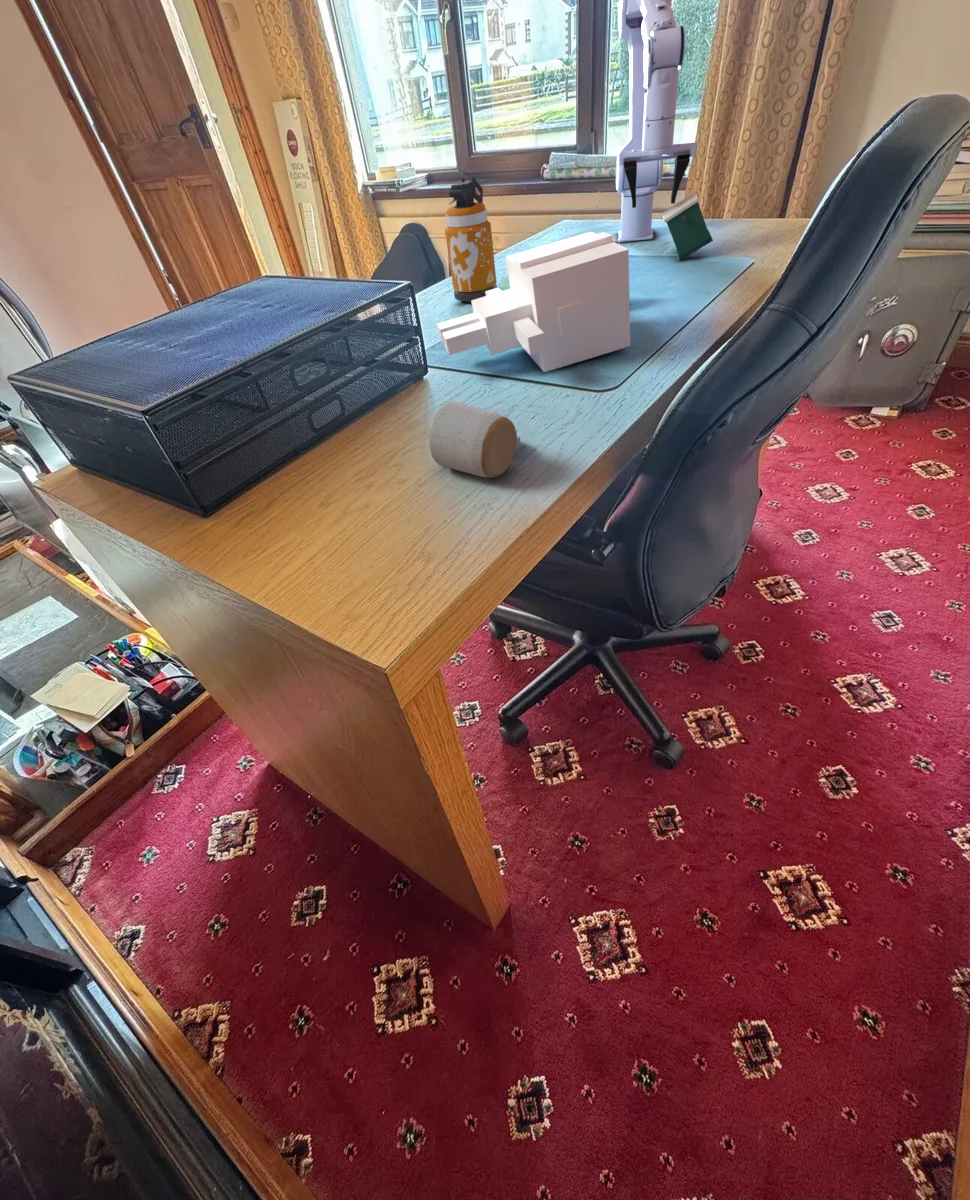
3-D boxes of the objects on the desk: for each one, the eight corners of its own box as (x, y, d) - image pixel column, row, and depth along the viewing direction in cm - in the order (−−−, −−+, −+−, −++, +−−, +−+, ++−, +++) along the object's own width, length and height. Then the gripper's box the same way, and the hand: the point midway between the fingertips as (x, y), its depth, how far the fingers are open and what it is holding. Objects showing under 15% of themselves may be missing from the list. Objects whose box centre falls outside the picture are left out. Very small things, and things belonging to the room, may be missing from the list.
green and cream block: (664, 220, 114) (698, 198, 110) (662, 212, 119) (694, 191, 116) (679, 261, 118) (713, 241, 115) (677, 251, 124) (709, 232, 120)
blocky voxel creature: (440, 359, 100) (588, 314, 101) (470, 417, 82) (650, 361, 83) (417, 267, 90) (582, 218, 91) (446, 311, 72) (651, 249, 73)
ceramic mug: (489, 492, 64) (482, 429, 58) (433, 477, 68) (421, 416, 62) (536, 449, 70) (533, 388, 64) (482, 437, 74) (475, 379, 68)
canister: (448, 304, 116) (430, 186, 102) (469, 287, 123) (454, 175, 110) (488, 304, 113) (474, 182, 99) (507, 287, 120) (497, 171, 106)
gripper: (619, 126, 105) (616, 212, 114) (701, 114, 102) (691, 204, 111) (620, 122, 110) (617, 205, 119) (698, 111, 107) (689, 197, 116)
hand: (653, 204), depth 116 cm, fingers open, 7 cm apart
